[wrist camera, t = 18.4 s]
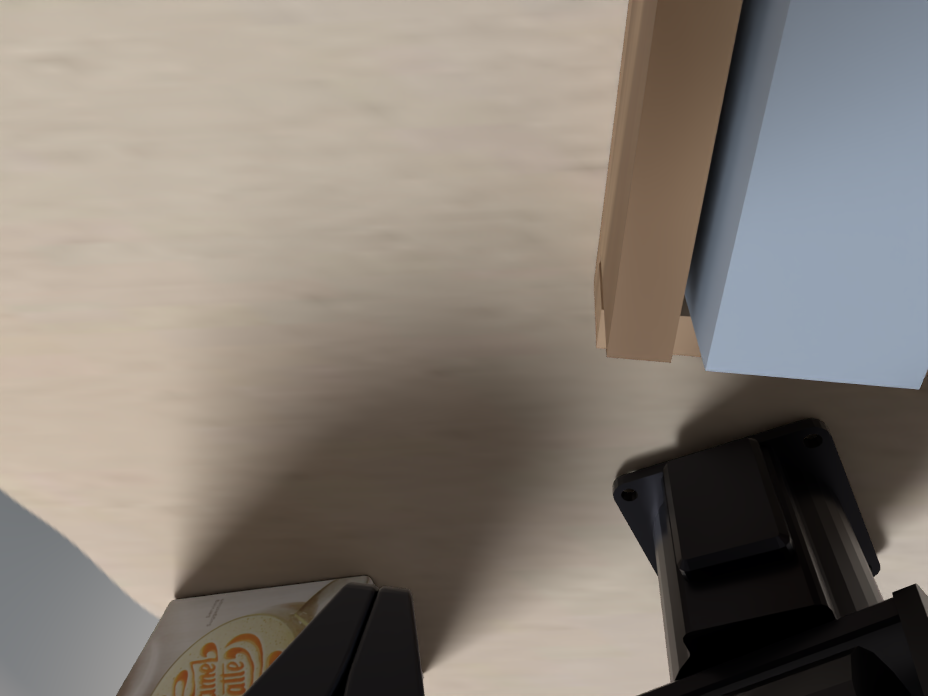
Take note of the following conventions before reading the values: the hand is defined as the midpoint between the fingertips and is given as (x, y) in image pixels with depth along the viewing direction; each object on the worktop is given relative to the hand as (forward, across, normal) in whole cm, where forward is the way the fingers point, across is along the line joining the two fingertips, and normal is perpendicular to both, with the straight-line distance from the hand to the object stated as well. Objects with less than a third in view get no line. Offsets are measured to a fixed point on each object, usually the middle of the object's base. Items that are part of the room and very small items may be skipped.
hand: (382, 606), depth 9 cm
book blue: (+11, -6, -4) cm, 13 cm away
